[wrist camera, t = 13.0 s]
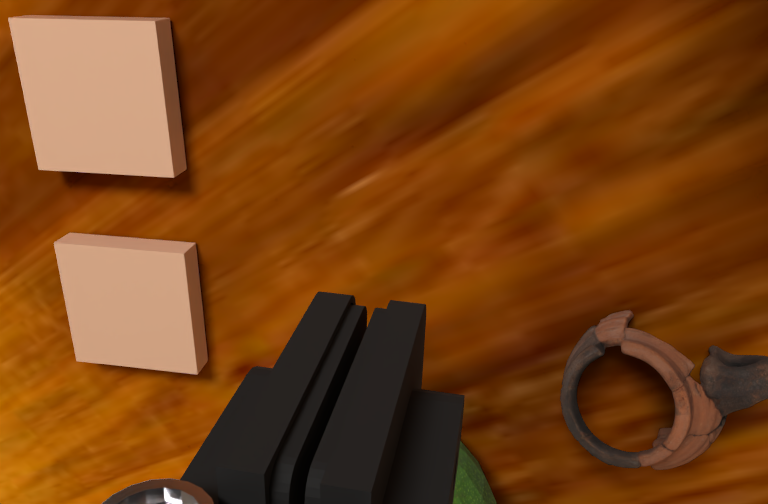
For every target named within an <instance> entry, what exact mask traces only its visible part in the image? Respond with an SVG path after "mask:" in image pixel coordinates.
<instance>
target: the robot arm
mask: <svg viewBox="0 0 768 504" xmlns="http://www.w3.org/2000/svg"><path fill="white" fill-rule="evenodd" d="M425 325H426V304H418V303H410V302H402V301H393V300H390V302H389V304H388V307H387V309H383V308H375V310H374V312H373V315H372V317H371V319H370V322H369V324H368V327H367V309H366V306H358V305H356V303H355V298H354V296H352V295H344V294H336V293H327V292H318V293H317V294H316V295H315V297H314V299H313V301H312V302H311V304H310V306H309V307H308V309H307V311H306V313H305V314H304V316H303V318H302V319H301V321H300V323H299V324H298V326H297V328H296V330H295V331H294V333H293V335H292V336H291V338H290V340H289V342H288V343H287V345H286V347H285V348H284V350H283V352H282V354H281V355H280V357H279V359H278V360H277V362H276V364H275V365H274V367H273V368H266V367H258V366H256V367H253V368H252V369H251V370H250V371H249V372H248V374H247V375H246V377H245V378H244V380H243V381H242V383H241V385H240V386H239V388H238V389H237V391H236V393H235V394H234V396H233V397H232V399H231V400H230V402H229V404H228V405H227V407H226V408H225V410H224V411H223V413H222V415H221V416H220V418H219V419H218V421H217V422H216V424H215V426H214V427H213V429H212V430H211V432H210V433H209V435H208V437H207V438H206V440H205V441H204V443H203V445H202V446H201V448H200V449H199V451H198V452H197V454H196V456H195V457H194V459H193V460H192V462H191V463H190V465H189V467H188V468H187V470H186V471H185V473H184V474H183V476H182V478H181V479H180V480H176V479H155V480H148V481H145V482H141V483H138V484H134V485H131V486H129V487H127V488H125V489H123V490H121V491H119V492H117V493H115V494H113V495H112V496H111V497H109V498H108V499H107V500H106V501H105V502H103V503H102V504H453V498H454V490H455V483H456V474H457V466H458V457H459V448H460V439H461V429H462V419H463V408H464V395H457V394H450V393H443V392H436V391H429V390H422V389H421V385H422V370H423V355H424V340H425Z"/></svg>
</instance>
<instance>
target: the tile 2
mask: <svg viewBox="0 0 768 504" xmlns="http://www.w3.org/2000/svg"><path fill="white" fill-rule="evenodd" d="M54 246H55V252H56V257H57V262H58V267H59V272H60V278H61V283H62V288H63V293H64V298H65V304H66V309H67V314H68V319H69V324H70V329H71V335H72V340H73V345H74V350H75V355H76V361H81V362H90V363H99V364H108V365H117V366H126V367H135V368H144V369H152V370H161V371H170V372H179V373H188V374H197V375H198V373H199V372H200V371H201V369H202V368H203V367H204V365H205V364H206V363H207V361H208V355H207V345H206V336H205V326H204V317H203V307H202V298H201V288H200V279H199V269H198V259H197V250H196V243H191V242H178V241H166V240H154V239H142V238H129V237H117V236H105V235H92V234H80V233H68V234H67V235H65V236H64V237H62V238H61V239H59V240H57V241H56V242H54Z"/></svg>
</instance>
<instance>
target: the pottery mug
mask: <svg viewBox="0 0 768 504" xmlns="http://www.w3.org/2000/svg"><path fill="white" fill-rule="evenodd" d="M633 317H634V315H633V313H632V312H631V311H630V310H628V311H621V312H617V313H613V314H610V315H608V316H607V317H606V318H604V319H601V320H600V323H599V324H598V325H597V326H592V327H590V328H589V329H588V330H587V331H586V333H585V334H584V335H583V336H582V337H581V339H580V340H579V342H578V343H577V344H576V346H575V347H574V349H573V351H572V352H571V354H570V356H569V359H568V361H567V364H566V367H565V371H564V377H563V382H562V385H563V387H562V389H561V397H560V400H561V406H562V413H563V416H564V419H565V421H566V424H567V426H568V428H569V430H570V432H571V433H572V435H573V436H574V438H575V439H576V440H577V441H579V443H580V444H581V445H582V446H583V447H584V448H585V449H586V450H587V451H589V452H590V454H591V455H592V456H595V457H596V458H598V459H599V460H601V461H602V462H605V463H606V464H608V465H614V466H618V467H624V468H639V467H641V466H651V467H652V468H654V469H655V470H664V469H671V468H675V467H678V466H681V465H683V464H686V463H688V462H690V461H692V460H693V459H695V458H697V457H698V456H699V455H701V454H702V453H704V452H705V451H706V450H707V449H708V448H709V447H710V445H711V444H712V443H713V442H714V441H715V439H716V438H717V437H718V435H719V433H720V432H721V430H722V428H723V426H724V424H725V421H726V417H727V414H729V413H732V412H734V411H738V410H741V409H745V408H748V407H751V406H753V405H754V404H756V403H758V402H760V401H763V400H765V399H768V357H767V356H758V355H733V354H730V353H728V352H725V351H723V350H722V349H720V348H718V347H717V346H711V347H710V348H709V353H710V356H708V357H707V358H706V359H705V360H704V362H703V365H702V367H701V370H700V381H701V384H699V383H698V382H696V381H694V380H693V378H691V376H690V373H691V371H692V370H693V368H694V367H695V365H694V364H693V363H692V362H691V361H690V360H689V359H687V358H686V357H685V356H684V355H683V354H681V353H680V352H678V351H677V350H676V349H675V348H673V347H672V346H671V345H669V344H667V343H665V342H663V341H661V340H660V339H658V338H656V337H654V336H652V335H650V334H648V333H646V332H644V331H641V330H637V329H632V328H627V327H628V323H629V321H630V320H631V319H632V318H633ZM613 346H621V351H622V353H623V354H625V355H629V356H632V357H635V358H637V359H640V360H642V361H644V362H646V363H648V364H649V365H650V366H652V367H653V368H654V369H655V370H656V371H657V372H658V373H659V374H660V375H661V376H662V378H663V379H664V380H665V382H666V383H667V385H668V386H669V388H670V389H671V390H672V395H673V399H674V403H675V418H674V423H673V426H672V428H661V429H659V433H658V437H657V439H656V440H655V441H654V442H653V447H654V448H652V449H649V450H645V451H640V452H625V451H621V450H618V449H615V448H613V447H610V446H608V445H607V444H605V443H603V442H602V441H600V440H599V439H598V438H597V437H595V436H594V435H593V434H592V432H591V431H590V430H589V429H588V427H587V426H586V424H585V422H584V421H583V419H582V417H581V414H580V412H579V408H578V404H577V386H578V383H579V380H580V377H581V375H582V373H583V371H584V370H585V368H586V367H587V366H588V365H589V364H590V363H591V362H593V361H594V360H596V359H598V358H599V357H601V356H603V355H604V353H605V348H606V347H613Z"/></svg>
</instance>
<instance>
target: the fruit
mask: <svg viewBox="0 0 768 504" xmlns="http://www.w3.org/2000/svg"><path fill="white" fill-rule="evenodd" d="M453 504H497V503H496V500H495V498H494V496H493V493H492V491H491V488H490V486H489V484H488V482H487V479H486V477H485V475H484V473H483V471H482V469H481V467H480V465H479V462H478V461H477V460H476V459H475V457H474V456H473V455H472V454H471V453H470V451H469V450H468V449H467V448H466V447H465V445H464V444H463V443H462V442H461V441H460V448H459V457H458V466H457V474H456V483H455V490H454V498H453Z"/></svg>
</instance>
